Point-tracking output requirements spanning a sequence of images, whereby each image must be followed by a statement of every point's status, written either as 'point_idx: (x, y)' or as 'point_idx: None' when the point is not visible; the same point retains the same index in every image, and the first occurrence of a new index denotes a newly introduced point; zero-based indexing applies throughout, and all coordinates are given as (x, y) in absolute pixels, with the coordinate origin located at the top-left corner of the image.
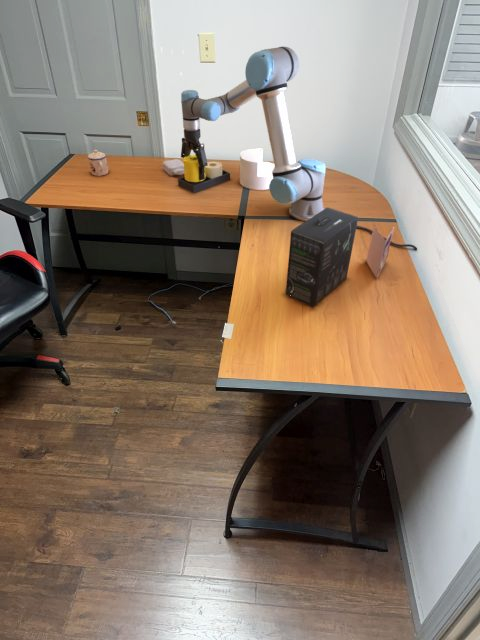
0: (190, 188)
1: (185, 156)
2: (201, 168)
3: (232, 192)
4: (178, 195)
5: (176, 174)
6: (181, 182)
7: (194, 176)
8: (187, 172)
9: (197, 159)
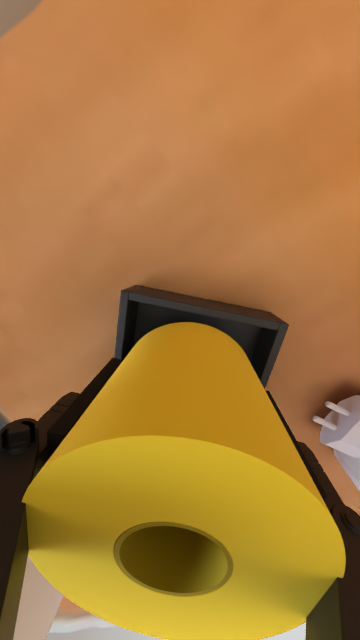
0: (157, 292)
1: (343, 578)
2: (48, 428)
3: (18, 389)
4: (185, 208)
5: (354, 396)
6: (245, 313)
7: (132, 351)
8: (185, 346)
9: (9, 551)
